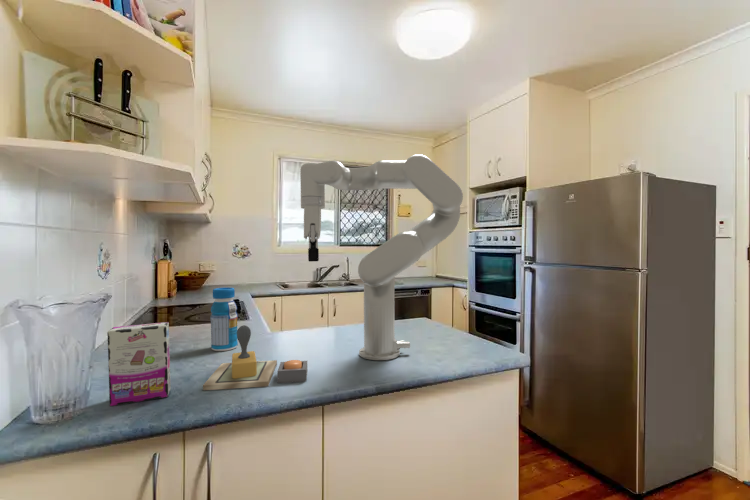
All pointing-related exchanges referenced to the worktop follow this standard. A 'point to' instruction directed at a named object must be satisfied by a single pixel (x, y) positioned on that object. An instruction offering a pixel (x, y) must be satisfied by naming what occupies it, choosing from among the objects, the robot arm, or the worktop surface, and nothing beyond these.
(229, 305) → the beverage bottle
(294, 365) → the button
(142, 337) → the candy bar box
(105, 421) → the worktop surface
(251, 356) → the rubber stamp
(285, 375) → the button housing
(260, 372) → the picture board
